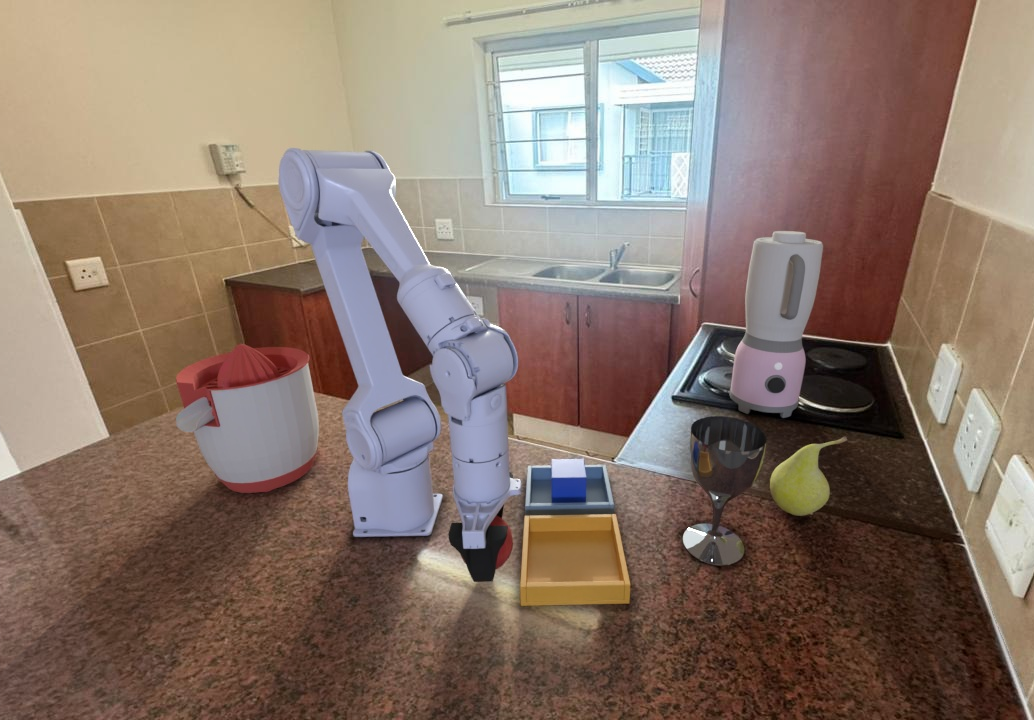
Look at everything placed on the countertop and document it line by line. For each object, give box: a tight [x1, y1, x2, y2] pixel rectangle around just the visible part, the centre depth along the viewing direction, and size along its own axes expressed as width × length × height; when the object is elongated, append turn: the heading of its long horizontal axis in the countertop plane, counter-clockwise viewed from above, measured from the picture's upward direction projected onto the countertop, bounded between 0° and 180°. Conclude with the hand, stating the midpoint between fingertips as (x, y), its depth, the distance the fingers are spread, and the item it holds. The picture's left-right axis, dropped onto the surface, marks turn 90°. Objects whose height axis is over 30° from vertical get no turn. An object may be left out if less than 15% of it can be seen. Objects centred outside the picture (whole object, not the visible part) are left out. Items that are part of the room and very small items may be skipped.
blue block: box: [550, 458, 587, 503], centre depth 67 cm, size 4×4×4 cm
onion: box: [460, 515, 514, 570], centre depth 54 cm, size 6×6×8 cm
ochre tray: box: [519, 513, 631, 607], centre depth 56 cm, size 11×11×2 cm
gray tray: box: [524, 464, 615, 516], centre depth 67 cm, size 11×9×2 cm
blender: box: [729, 230, 824, 419], centre depth 88 cm, size 16×12×32 cm
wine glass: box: [682, 415, 768, 566], centre depth 57 cm, size 8×8×15 cm
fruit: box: [769, 436, 848, 517], centre depth 64 cm, size 7×8×12 cm
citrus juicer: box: [175, 343, 320, 494], centre depth 70 cm, size 16×17×20 cm
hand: (486, 555), depth 55 cm, fingers open, 6 cm apart
